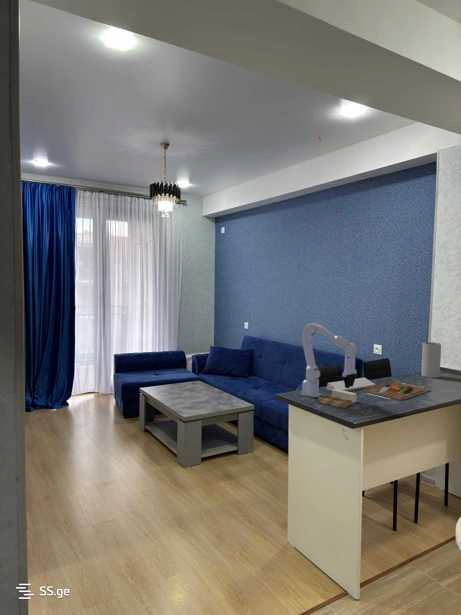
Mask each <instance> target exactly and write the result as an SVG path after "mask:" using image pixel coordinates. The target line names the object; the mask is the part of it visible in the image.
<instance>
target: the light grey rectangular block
mask: <svg viewBox="0 0 461 615" xmlns="http://www.w3.org/2000/svg"><path fill="white" fill-rule="evenodd" d="M331 396H335V397H340V398H345V399H350V400H352V401H351V404H354V403H356V402H357V393H356V392H352V391H343V390H339V389H333V390H331Z"/></svg>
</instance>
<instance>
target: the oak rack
mask: <svg viewBox="0 0 461 615" xmlns="http://www.w3.org/2000/svg"><path fill="white" fill-rule="evenodd" d="M323 396H324V397H321V396H318V397H317V398H318V399H317V403H319V404H324V405H328V406H331V407H336V408H341V409H346V408H348V407H349V406H352V403H351V401H352V400H350V399H345V398H340V397H335V396H332V395H330V394H329V395H328V394H324V395H323Z"/></svg>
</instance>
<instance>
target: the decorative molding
mask: <svg viewBox="0 0 461 615" xmlns="http://www.w3.org/2000/svg"><path fill="white" fill-rule="evenodd" d="M326 385H327V386H326V390H327V391H332V390H333V389H339V390H343V391H347V392H352V391H356V390H363V389H367V388H371V387H375V386H377V385H376V383H374V382H372V381H371V380H369V379H367V378H366V377H359V378H355V381H354V384H353V387H351V386H350V387H349V388H345V383H344V380H338V381H332V382H327V384H326ZM362 388H363V389H362Z"/></svg>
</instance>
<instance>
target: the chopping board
mask: <svg viewBox="0 0 461 615" xmlns="http://www.w3.org/2000/svg"><path fill="white" fill-rule="evenodd" d="M429 392H431V389H430V388H427V387H423V386H418V385H413V384H407V383H403V382H397V381H390V382H386V383H383V384H380V385H375V387H369V388H363V389H362V393H365V394H366V395H369V396H372V397H377V398H382V399H385V400H390V401H391V400H396V401H406V400H408V399H411V398H415V397H417V396H420V395H423V394H427V393H429Z"/></svg>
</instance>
